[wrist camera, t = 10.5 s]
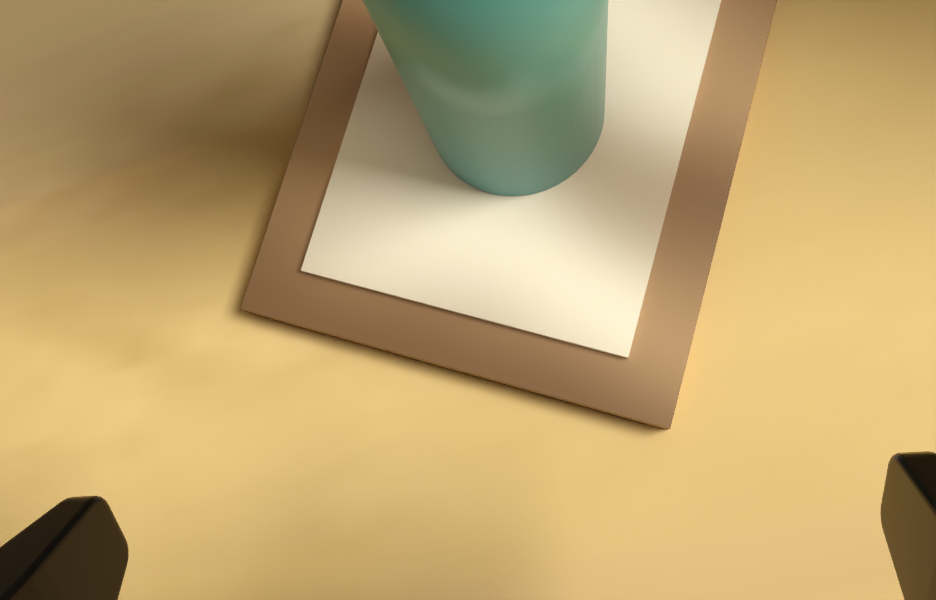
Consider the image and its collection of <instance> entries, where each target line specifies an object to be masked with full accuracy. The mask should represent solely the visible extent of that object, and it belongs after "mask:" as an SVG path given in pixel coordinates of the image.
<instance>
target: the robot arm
mask: <svg viewBox="0 0 936 600" xmlns="http://www.w3.org/2000/svg"><path fill="white" fill-rule="evenodd" d="M881 522H882V528H883V531H884V535H885V538H886V541H887V544H888V548H889V551H890V554H891V557H892V561H893V564H894V567H895V570H896V573H897V577H898V580H899V583H900V586H901V590H902V593H903V596H904V599H905V600H936V453H934V452H928V451H926V452H907V453H897V454H895V455H893V456H892V457H891V459H890V461H889V464H888V469H887V475H886V481H885V486H884V492H883V498H882V503H881ZM127 562H128V545H127V541H126V539H125V537H124V535H123V533H122V531H121V529H120V527H119V525H118V523H117V521H116V519H115V517H114V515H113V513H112V511H111V509H110V507H109V505H108V503H107V501H106V500H104V499H103V498H102V497H99V496H82V497H71V498H67V499H65V500H63V501H62V502H60V503H59V504H57V505H56V506H55V507H53V508H52V509H51V510H49V511H48V512H47V513H45V514H44V515H43V516H41V517H40V518H39V519H37V520H36V521H35V522H33V523H32V524H31V525H29V526H28V527H27V528H25V529H24V530H23V531H21V532H20V533H19V534H17V535H16V536H15V537H13V538H12V539H11V540H9V541H8V542H7V543H5V544H4V545H3V546H1V547H0V600H118V596H119V592H120V589H121V585H122V581H123V578H124V574H125V570H126V567H127Z"/></svg>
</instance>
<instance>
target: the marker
mask: <svg viewBox="0 0 936 600" xmlns="http://www.w3.org/2000/svg"><path fill="white" fill-rule="evenodd" d="M363 2H364V4H365V6H366V8H367V10H368V12H369V14H370V16H371V18H372V20H373V22H374V24H375V26H376V28H377V30H378V32H379V34H380V36H381V38H382V40H383V42H384V44H385V46H386V48H387V50H388V53H389V55H390V57H391V59H392V61H393V63H394V65H395V67H396V69H397V71H398V73H399V75H400V77H401V79H402V81H403V83H404V85H405V87H406V89H407V91H408V93H409V95H410V97H411V99H412V101H413V103H414V105H415V107H416V109H417V111H418V113H419V115H420V117H421V119H422V121H423V123H424V125H425V127H426V129H427V131H428V133H429V135H430V137H431V139H432V141H433V143H434V145H435V147H436V149H437V151H438V153H439V155H440V157H441V158H442V160H443V162H444V163H445V164H446V165H447V167H448V168H449V169H450V170H451V171H452V172H453V173H454V174H455V175H456V176H457V177H458V178H459V179H461V180H462V181H464V182H465V183H467V184H468V185H470V186H472V187H474V188H476V189H478V190H481V191H484V192H487V193H491V194H496V195H501V196H524V195H530V194H535V193H538V192H542V191H545V190H548V189H550V188H552V187H554V186H556V185H558V184H560V183H561V182H563V181H565V180H566V179H568V178H569V177H570V176H572V175H573V174H574V173H575V172H577V170H578V169H579V168H580V167H581V166H582V165H583V164H584V163H585V162H586V161H587V159H588V158H589V156H590V155H591V154H592V152H593V150H594V148H595V147H596V145H597V143H598V140H599V137H600V135H601V132H602V127H603V123H604V114H605V88H606V58H607V28H608V0H363Z"/></svg>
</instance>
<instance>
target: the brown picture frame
mask: <svg viewBox="0 0 936 600" xmlns="http://www.w3.org/2000/svg"><path fill="white" fill-rule="evenodd" d="M776 2H777V0H608V28H607V58H606V88H605V114H604V123H603V127H602V132H601V135H600V137H599V140H598V143H597V145H596V147H595V148H594V150H593V152H592V154H591V155H590V156H589V158H588V159H587V161H586V162H585V163H584V164H583V165H582V166H581V167H580V168H579V169H578V170H577V172H575V173H574V174H573V175H572V176H570V177H569V178H568V179H566V180H565V181H563V182H561V183H560V184H558V185H556V186H554V187H552V188H550V189H548V190H545V191H542V192H538V193H535V194H530V195H524V196H501V195H496V194H491V193H487V192H484V191H481V190H478V189H476V188H474V187H472V186H470V185H468V184H467V183H465V182H464V181H462V180H461V179H459V178H458V177H457V176H456V175H455V174H454V173H453V172H452V171H451V170H450V169H449V168H448V167H447V165H446V164H445V163H444V162H443V160H442V158H441V157H440V155H439V153H438V151H437V149H436V147H435V145H434V143H433V141H432V139H431V137H430V135H429V133H428V131H427V129H426V127H425V125H424V123H423V121H422V119H421V117H420V115H419V113H418V111H417V109H416V107H415V105H414V103H413V101H412V99H411V97H410V95H409V93H408V91H407V89H406V87H405V85H404V83H403V81H402V79H401V77H400V75H399V73H398V71H397V69H396V67H395V65H394V63H393V61H392V59H391V57H390V55H389V53H388V50H387V48H386V46H385V44H384V42H383V40H382V38H381V36H380V34H379V32H378V30H377V28H376V26H375V24H374V22H373V20H372V18H371V16H370V14H369V12H368V10H367V8H366V6H365V4H364V2H363V0H343V1H342V4H341V7H340V10H339V13H338V16H337V19H336V22H335V25H334V28H333V31H332V34H331V37H330V40H329V43H328V46H327V49H326V52H325V55H324V58H323V61H322V64H321V67H320V70H319V73H318V76H317V79H316V83H315V86H314V89H313V92H312V95H311V98H310V101H309V104H308V107H307V110H306V113H305V116H304V119H303V122H302V125H301V128H300V131H299V134H298V137H297V140H296V143H295V146H294V149H293V152H292V155H291V158H290V161H289V164H288V167H287V170H286V173H285V176H284V179H283V182H282V185H281V188H280V191H279V194H278V197H277V200H276V203H275V206H274V209H273V212H272V215H271V218H270V221H269V224H268V227H267V230H266V233H265V236H264V239H263V242H262V245H261V248H260V251H259V254H258V257H257V260H256V263H255V266H254V269H253V272H252V275H251V278H250V281H249V284H248V287H247V290H246V293H245V296H244V299H243V302H242V305H241V308H240V309H243V310H245V311H247V312H249V313H252V314H256V315H260V316H263V317H267V318H270V319H274V320H277V321H281V322H285V323H288V324H292V325H295V326H299V327H302V328H306V329H310V330H313V331H317V332H320V333H324V334H327V335H331V336H335V337H338V338H342V339H345V340H349V341H352V342H356V343H360V344H363V345H367V346H370V347H374V348H377V349H381V350H385V351H388V352H392V353H395V354H399V355H402V356H406V357H410V358H413V359H417V360H420V361H424V362H427V363H431V364H435V365H438V366H442V367H445V368H449V369H452V370H456V371H460V372H463V373H467V374H470V375H474V376H477V377H481V378H485V379H488V380H492V381H495V382H499V383H502V384H506V385H510V386H513V387H517V388H520V389H524V390H527V391H531V392H535V393H538V394H542V395H545V396H549V397H552V398H556V399H560V400H563V401H567V402H570V403H574V404H577V405H581V406H585V407H588V408H592V409H595V410H599V411H602V412H606V413H610V414H613V415H617V416H620V417H624V418H627V419H631V420H635V421H638V422H642V423H645V424H649V425H652V426H656V427H660V428H663V429H667V430H668V429H670V427H671V423H672V419H673V415H674V411H675V407H676V403H677V399H678V395H679V391H680V387H681V383H682V379H683V375H684V371H685V367H686V363H687V359H688V355H689V351H690V347H691V343H692V339H693V335H694V331H695V327H696V323H697V319H698V315H699V311H700V307H701V303H702V299H703V295H704V291H705V287H706V283H707V279H708V275H709V271H710V267H711V263H712V259H713V255H714V251H715V247H716V243H717V239H718V235H719V231H720V227H721V223H722V219H723V215H724V211H725V207H726V203H727V199H728V195H729V191H730V187H731V183H732V179H733V175H734V171H735V167H736V163H737V159H738V155H739V151H740V146H741V142H742V138H743V134H744V130H745V126H746V122H747V118H748V114H749V110H750V106H751V102H752V98H753V94H754V90H755V86H756V82H757V78H758V74H759V70H760V66H761V62H762V58H763V54H764V50H765V46H766V42H767V38H768V34H769V30H770V26H771V22H772V18H773V14H774V10H775V6H776Z"/></svg>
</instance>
